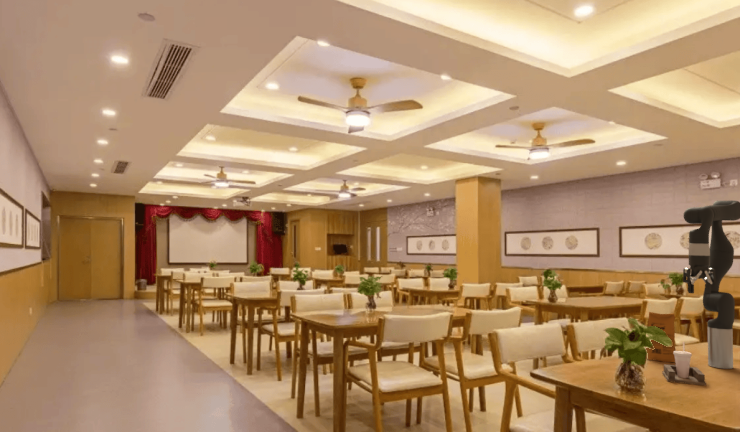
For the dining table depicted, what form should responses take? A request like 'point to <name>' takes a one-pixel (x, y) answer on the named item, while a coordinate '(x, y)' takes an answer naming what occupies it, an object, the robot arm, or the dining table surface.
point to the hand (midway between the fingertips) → (699, 293)
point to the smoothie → (682, 362)
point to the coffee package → (666, 325)
